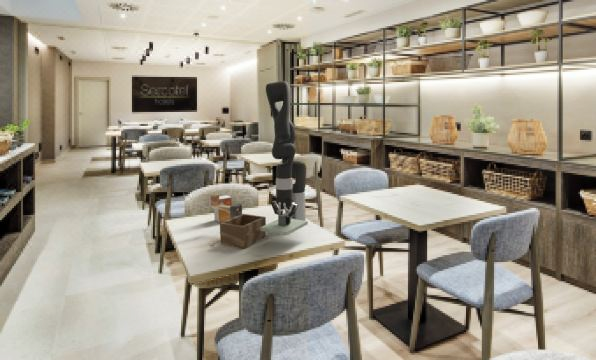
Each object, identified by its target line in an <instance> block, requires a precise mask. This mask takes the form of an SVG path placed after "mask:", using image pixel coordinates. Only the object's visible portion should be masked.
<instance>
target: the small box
mask: <svg viewBox="0 0 596 360" xmlns="http://www.w3.org/2000/svg"><path fill="white" fill-rule="evenodd" d="M232 200H233V199H232V196H230V195H227V194H226V195H219V202H220V205H225V206H233V201H232ZM213 212H214V213H213V214H214V221H215V222H218V223H222V222H224V221H227V220H229V219H230V211H226V210H219V209H213Z"/></svg>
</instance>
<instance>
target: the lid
mask: <svg viewBox="0 0 596 360" xmlns="http://www.w3.org/2000/svg"><path fill="white" fill-rule="evenodd" d="M308 224H309V221H308V220H306V221H303V220H297V219H291V223H290V224H289V225H286V212H283V214H282V215H279V216H278V215H277V219H276V220H273V221H271V222H270V223H267V224H266V225H265V226H262V227H260V231H265V232H266V233H269V234H276V235H281V236H288V235H291V234H292V233H294V232H296V231H298V230H300V229H301V228H303V227H304V228H305V227H306V226H308Z"/></svg>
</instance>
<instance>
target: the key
mask: <svg viewBox="0 0 596 360" xmlns="http://www.w3.org/2000/svg"><path fill="white" fill-rule="evenodd" d="M219 196H220V194H216V193H215V194H211V195H210V209H213V210H214V209H219V210H226V211H230V206H225V205H220V202H219ZM236 211H239V208H236Z"/></svg>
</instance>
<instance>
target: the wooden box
mask: <svg viewBox="0 0 596 360" xmlns="http://www.w3.org/2000/svg"><path fill="white" fill-rule="evenodd" d="M236 208H239V211H236ZM266 218H267V217H266V216H261V215H254V214H250V213H249V214H248V213H243V204H240V203H236V204H234V205H233V204H232V206H230V219H229V220H227V221H224V222H219V236H220V237H219V238H220V245H223V246H226V247H233V248H237V249H243V250H244V249H246V248H249V247H250V246H252V245H254V244H256V243H258V242H259V241H261V240H263V239H266V238H267V232H265V231H260V227H262V226H265V225H267V224H266V223H267V220H266Z"/></svg>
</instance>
